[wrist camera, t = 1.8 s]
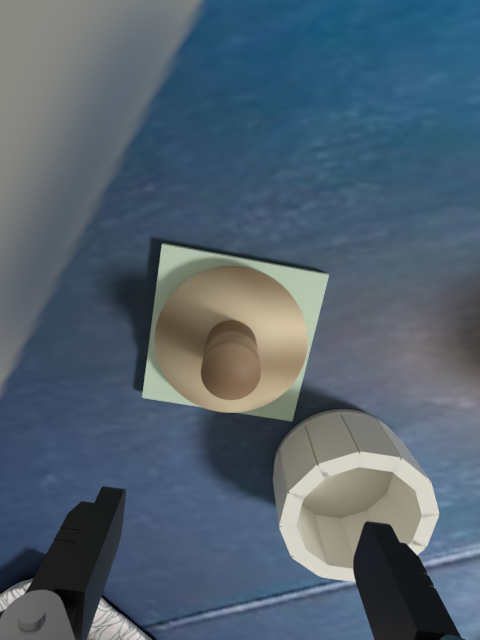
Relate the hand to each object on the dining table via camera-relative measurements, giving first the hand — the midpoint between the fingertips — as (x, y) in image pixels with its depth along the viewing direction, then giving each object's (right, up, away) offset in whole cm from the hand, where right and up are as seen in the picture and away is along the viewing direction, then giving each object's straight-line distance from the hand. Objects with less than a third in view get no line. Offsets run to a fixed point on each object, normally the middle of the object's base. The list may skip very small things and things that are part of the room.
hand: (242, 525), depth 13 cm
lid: (-1, +5, +17) cm, 17 cm away
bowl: (+8, -6, +21) cm, 23 cm away
